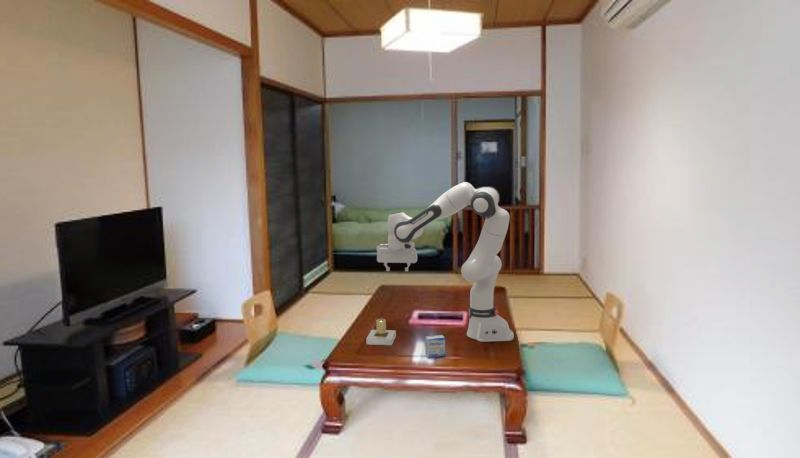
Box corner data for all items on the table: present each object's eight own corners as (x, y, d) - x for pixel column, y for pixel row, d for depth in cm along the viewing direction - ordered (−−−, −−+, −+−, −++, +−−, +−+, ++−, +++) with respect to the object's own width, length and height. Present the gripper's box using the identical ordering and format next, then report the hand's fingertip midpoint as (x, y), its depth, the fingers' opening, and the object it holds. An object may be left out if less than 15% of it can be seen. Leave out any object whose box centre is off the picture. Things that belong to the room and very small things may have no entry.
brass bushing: (386, 338, 264) (386, 318, 262) (385, 342, 259) (384, 321, 258) (377, 338, 264) (377, 318, 263) (376, 341, 260) (375, 321, 258)
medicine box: (428, 358, 239) (427, 339, 237) (425, 354, 243) (424, 336, 242) (445, 356, 241) (445, 337, 239) (441, 352, 245) (441, 334, 244)
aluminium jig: (395, 336, 267) (395, 330, 266) (391, 345, 255) (391, 339, 254) (371, 335, 268) (371, 329, 268) (366, 344, 257) (366, 338, 256)
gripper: (375, 245, 272) (375, 272, 274) (416, 245, 269) (416, 272, 271) (377, 242, 278) (378, 269, 281) (417, 243, 275) (418, 270, 277)
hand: (397, 271), depth 276 cm, fingers open, 8 cm apart
